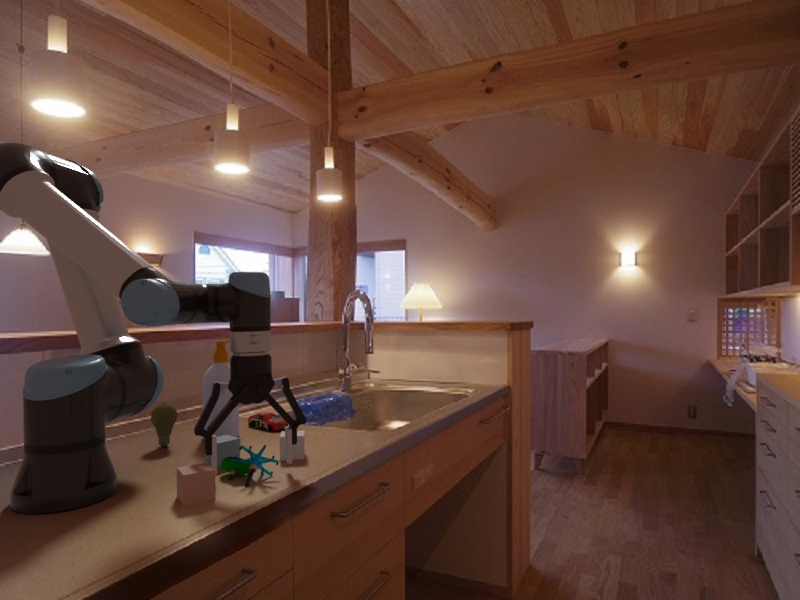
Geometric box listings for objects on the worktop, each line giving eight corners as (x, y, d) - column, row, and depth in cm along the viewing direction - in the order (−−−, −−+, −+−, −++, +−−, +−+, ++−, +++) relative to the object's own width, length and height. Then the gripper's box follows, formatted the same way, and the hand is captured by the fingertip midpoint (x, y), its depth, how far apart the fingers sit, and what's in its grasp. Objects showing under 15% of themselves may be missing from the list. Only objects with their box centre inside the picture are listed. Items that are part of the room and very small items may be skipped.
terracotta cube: (183, 506, 83) (183, 475, 83) (176, 497, 87) (176, 467, 87) (215, 499, 86) (215, 469, 86) (207, 491, 90) (207, 462, 90)
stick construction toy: (287, 462, 98) (266, 435, 95) (277, 494, 93) (254, 466, 89) (235, 475, 102) (213, 449, 98) (222, 506, 96) (198, 480, 92)
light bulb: (177, 448, 117) (176, 404, 118) (149, 451, 115) (149, 406, 115) (177, 442, 123) (177, 400, 123) (151, 445, 120) (151, 402, 121)
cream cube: (279, 461, 107) (279, 437, 107) (281, 454, 112) (281, 431, 112) (304, 459, 108) (304, 435, 108) (304, 453, 113) (304, 430, 113)
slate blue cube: (217, 468, 103) (217, 443, 103) (204, 463, 106) (204, 439, 106) (240, 462, 106) (240, 438, 106) (227, 458, 110) (227, 434, 110)
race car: (292, 430, 135) (292, 415, 135) (275, 434, 131) (274, 418, 131) (262, 423, 144) (262, 408, 144) (245, 426, 140) (245, 412, 140)
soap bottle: (247, 433, 131) (247, 339, 132) (225, 442, 122) (225, 341, 123) (218, 431, 134) (218, 339, 134) (194, 440, 125) (194, 341, 125)
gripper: (179, 359, 89) (180, 483, 88) (320, 351, 99) (322, 462, 99) (178, 355, 96) (179, 471, 95) (310, 349, 106) (312, 453, 105)
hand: (252, 467), depth 97 cm, fingers open, 13 cm apart
